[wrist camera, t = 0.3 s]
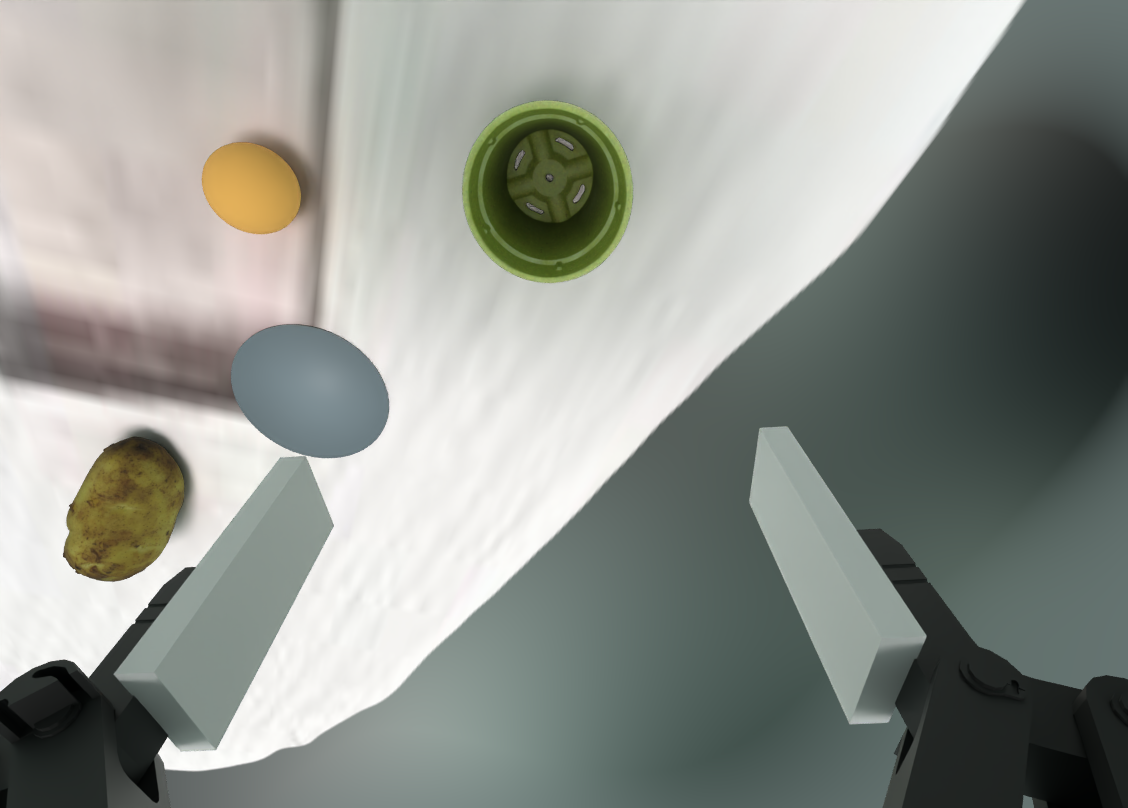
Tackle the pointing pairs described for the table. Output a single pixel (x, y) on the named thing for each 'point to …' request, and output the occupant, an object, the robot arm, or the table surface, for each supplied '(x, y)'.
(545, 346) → the table surface
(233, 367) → the disc
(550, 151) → the plant pot
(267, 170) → the ball
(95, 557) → the potato
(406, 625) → the table surface
